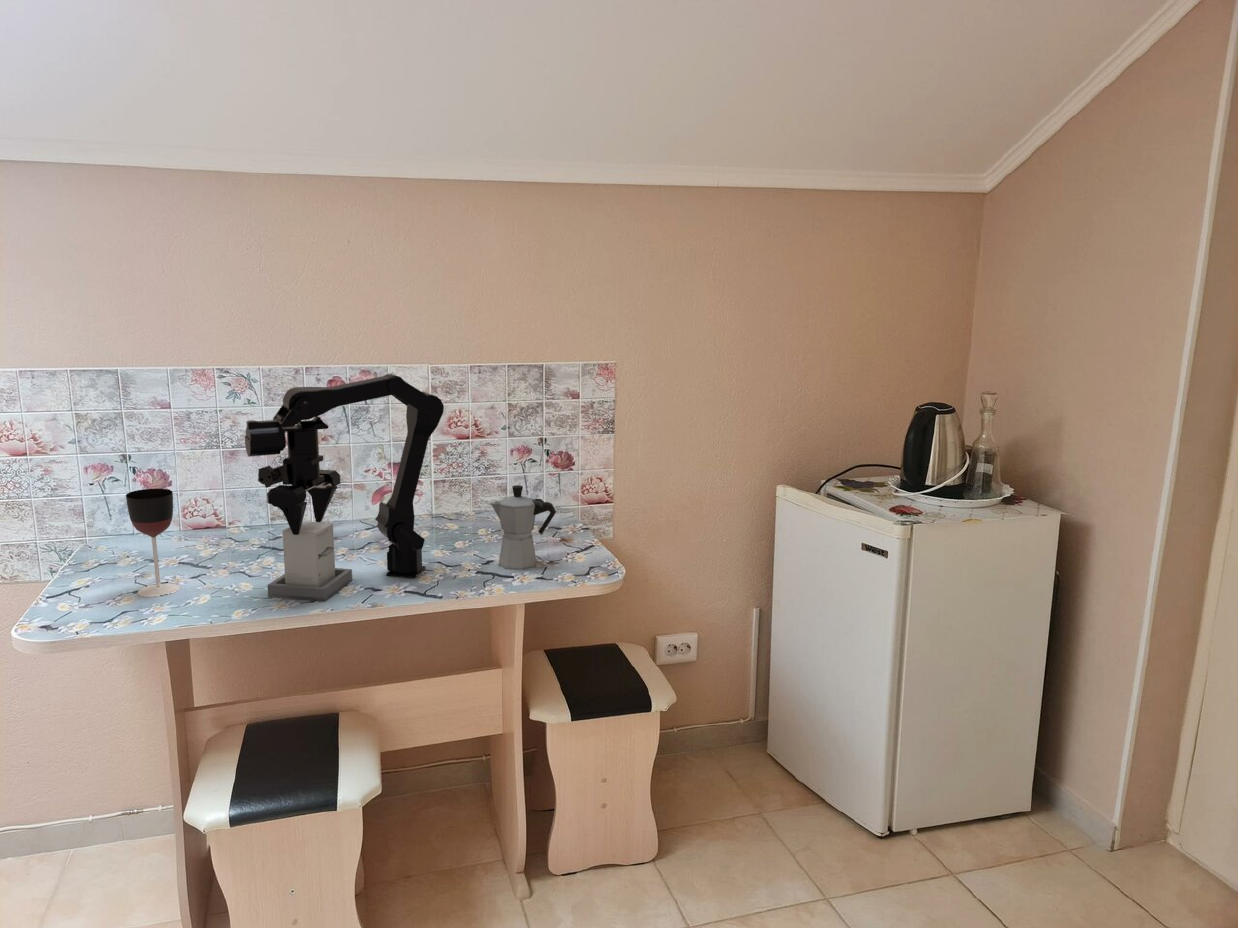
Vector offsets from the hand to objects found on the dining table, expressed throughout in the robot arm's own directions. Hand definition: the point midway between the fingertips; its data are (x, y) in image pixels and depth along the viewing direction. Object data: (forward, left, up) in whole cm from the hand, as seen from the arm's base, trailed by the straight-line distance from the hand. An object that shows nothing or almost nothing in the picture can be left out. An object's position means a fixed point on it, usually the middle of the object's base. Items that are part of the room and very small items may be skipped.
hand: (307, 528), depth 173 cm
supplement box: (0, 0, -13) cm, 12 cm away
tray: (0, 0, -13) cm, 13 cm away
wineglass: (+29, +7, -13) cm, 33 cm away
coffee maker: (-38, -24, -13) cm, 47 cm away
